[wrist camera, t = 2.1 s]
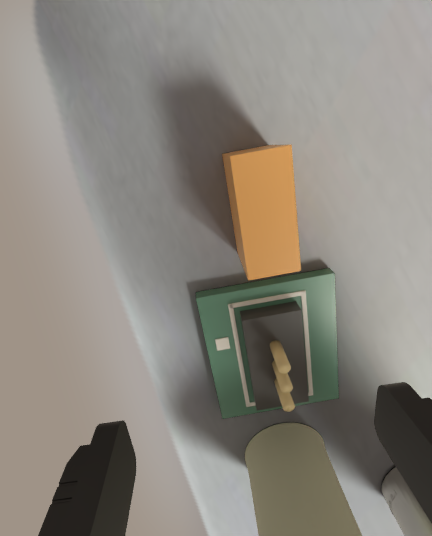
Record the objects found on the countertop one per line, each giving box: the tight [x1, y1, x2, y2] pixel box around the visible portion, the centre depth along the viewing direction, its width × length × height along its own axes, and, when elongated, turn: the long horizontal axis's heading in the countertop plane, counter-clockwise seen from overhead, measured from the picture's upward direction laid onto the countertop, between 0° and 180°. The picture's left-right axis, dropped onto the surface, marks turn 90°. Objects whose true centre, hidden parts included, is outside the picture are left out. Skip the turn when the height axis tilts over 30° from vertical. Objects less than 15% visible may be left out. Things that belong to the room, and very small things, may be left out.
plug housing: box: [222, 145, 301, 280], centre depth 22 cm, size 4×8×6 cm, turn 10°
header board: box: [196, 268, 339, 419], centre depth 27 cm, size 12×14×6 cm
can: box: [245, 423, 362, 536], centre depth 30 cm, size 9×9×12 cm
